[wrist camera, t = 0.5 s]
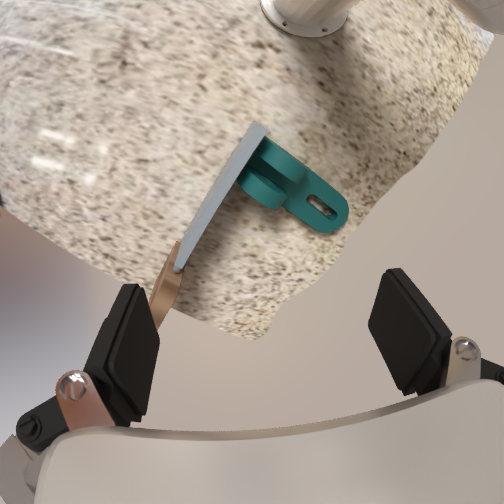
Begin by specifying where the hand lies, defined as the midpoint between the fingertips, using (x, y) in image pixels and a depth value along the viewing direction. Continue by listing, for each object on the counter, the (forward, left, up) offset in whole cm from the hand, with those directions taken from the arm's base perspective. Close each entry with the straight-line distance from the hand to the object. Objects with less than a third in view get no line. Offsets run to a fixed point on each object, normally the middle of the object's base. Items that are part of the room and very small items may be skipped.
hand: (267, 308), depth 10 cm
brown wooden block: (+23, -1, -32) cm, 39 cm away
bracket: (0, +10, -32) cm, 34 cm away
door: (+6, -1, -31) cm, 32 cm away
